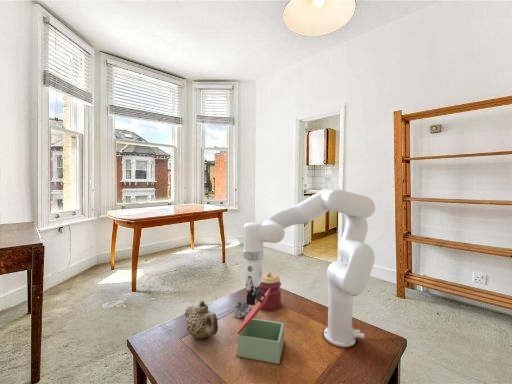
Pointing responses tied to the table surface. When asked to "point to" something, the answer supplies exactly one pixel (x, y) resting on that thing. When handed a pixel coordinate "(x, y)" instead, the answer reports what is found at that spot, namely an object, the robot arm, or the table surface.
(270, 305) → the kitchen canister
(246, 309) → the egg carton
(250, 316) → the lid
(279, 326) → the storage box
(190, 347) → the table surface
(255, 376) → the table surface
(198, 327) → the teapot
